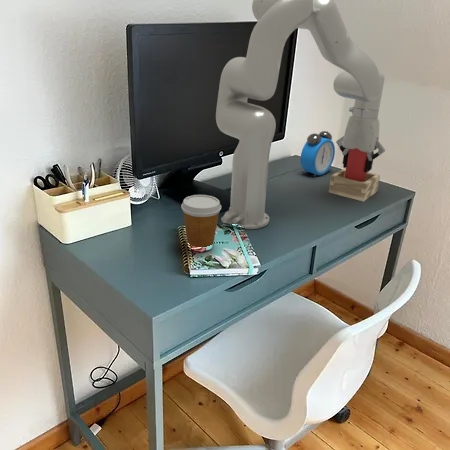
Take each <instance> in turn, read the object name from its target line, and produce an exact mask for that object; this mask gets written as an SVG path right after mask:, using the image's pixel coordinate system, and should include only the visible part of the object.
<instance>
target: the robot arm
mask: <svg viewBox="0 0 450 450" xmlns="http://www.w3.org/2000/svg"><path fill="white" fill-rule="evenodd" d="M251 10H252V14H253V16H254V19H256V20H257V22H256V24H255V25H254V26H253V29H252V31H251V34H250V38H249V42H248V47H247V53H246V55H245V56H246V57H245V56H237V57H233V58H232V59H231V58H230V60H229V61H228V62H227V63H226V64H225V66H224V67H223V69H222V72H221V75H220V80H219V85H218V87H219V89H218V94H217V101H216V111H215V121H216V125H217V127H218V129H219V131H220V132H221V133H223V134H225V135H227V136H230V137H232V138H235V139H236V140H237V139H238V140H239V142H238V144H237V147H236V148H235V150H234V152H233V155H232V156H233V157H232V161H231V162H232V165H231V166H232V168H231V188H230V202H229V203H230V206H229V208H228V210H227V211H226V212H225V213H224V215H223V216H221V219H220V220H221V222H222V223H224V224H227V225H229V224H238V225H241V226H243V227H244V228H245V229H244V230H256V229H257V230H258V229H261V228H265V227H266V226H267V225H269V223H270V216H269V214H267V213H266V211H265V208H266V207H265V206H266V196H267V187H268V185H267V184H268V174H269V173H268V172H269V162H270V161H269V160H270V153H271V148H272V147H271V146H272V144H273V139H274V137H275V132H276V126H277V125H276V118H275V117H274V115H273V113H272V112H271V111H270V110H268V109H267V108H265V107H263V106H260V105H257V104H253V103H249V102H248V99H251V100H257V101H268V100H270V99H271V98H273V96H274V95H275V92H276V91H277V90H276V89H277V86H278V85H277V84H278V80H279V75H280V70H281V69H280V68H281V64H282V58H283V54H284V47H285V45H286V42H287V40H288V38H289V37H290V36H291V35H292V33H293V32H294V31H295V30H296V29H301V30H302V29H303V30H308V31H309V32H310V34H311V36H312V38H313V41H314V42H315V44H316V46H317V49H318V51H319V52H320V54H321V56H322V57H323V58H324V60H326V61H328V62H329V63H330V64H332V65H334V66H335V67H337V68H340V69H342V70H343V71H341V72H340V73H338V75H336V77H335V78H334V81H333V86H332V87H333V90H334V92H335V93H336V95H338V96H340V97H341V98H347V99H350V100H354V105H353V107H349V109H348V112H351V113H352V115H350V116H349V118H348V121H347V123H346V128H345V131H344V133H343V136H342V137H340V138H339V139H337V140H336V141H335V143H336V144H337V146H338V147H339V150H340V151H341V153H342V155H343V157H342V158H343V159H342V164H343V165H342V168H343V169H344V168H346V165H347V159H348V152H349V149H355V148H357V149H359V150H360V151H362V152H367V156H368V160H367V161H366V165H365V171H364V172H365V173H367V172H368V173H370V172H371V171H372V169H373V168H372V167H373V164H374V163H373V162H374V160H375V159H377V158H378V157H380V156H381V155H382V154H384V153H385V152H386V149H385V148H384V146H383V145H382V143H381V142H380V140H379V139H380V119H379V118H378V117H379V112H380V106H381V100H382V95H383V90H384V84H385V75H384V74H383V73H382V72H380V71H379V69H378V66H377V65H376V63H375V61H374V60H373V59H372V58H371V56H370V55H368V53H366V52H365V51H364V49H362V48H361V47H360V46H359V45H358V44H357V42H356V43H355V42H354V41H353V40H352V38H351V36H350V34H349V32H348V29H347V27H346V25H345V22H344V20H343V17H342V15H341V13H340V11H339V8H338V6H337V4H336V1H334V0H252V3H251ZM376 150H378V151H377V152H374V151H376Z"/></svg>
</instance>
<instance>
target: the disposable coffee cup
mask: <svg viewBox="0 0 450 450" xmlns="http://www.w3.org/2000/svg"><path fill="white" fill-rule="evenodd" d="M180 207H181V210H182V212H183V219H184V227H185V236H186V243H187V242H188V243H189V244H190V245H192V246H195V247H207V246H210V245H212V244H213V245H214V243H213V242H215V235H216V232H217V226H218V221H219V215H220V211H221V210H222V205H221V202H220V200H219V199H218V198H217V197H215V196H213V195H207V194H193V195H190V196H189V195H188V196H186V197H185V198H184V199H183V201H182V203H181V206H180Z"/></svg>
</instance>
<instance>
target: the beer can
mask: <svg viewBox="0 0 450 450" xmlns="http://www.w3.org/2000/svg"><path fill="white" fill-rule="evenodd" d="M367 160H368V156H367V152H362V151H360V150H359V149H357V148H355V149H349V152H348V159H347V165H346V171H345V178H348V179H352V180H356V181H360V182H363V181H364V180H365V178H366V173H365V172H364V171H365V165H366V161H367Z"/></svg>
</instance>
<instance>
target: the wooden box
mask: <svg viewBox="0 0 450 450" xmlns="http://www.w3.org/2000/svg"><path fill="white" fill-rule="evenodd" d="M345 171H346V168H343V169H340V170H339V171H337V172H335V173H333V174H331V175H330V178H329V179H330V180H329V184H328V185H329V186H328V193H329V194H333V195H338V196H341V197H345V198H348V199H353V200H357V201H360V202H363V203H364V202H365V201H366V200H368V199H370V198H371V197H372V196H373V195H374V194H376V193H378V191H379V190H378V189H379V184H380V179H381V178H380V177H381V175H380V174H376V173H372V172H367V173H366V178H365V180H364V181H363V182H360V181H356V180H352V179H348V178H345Z"/></svg>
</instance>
